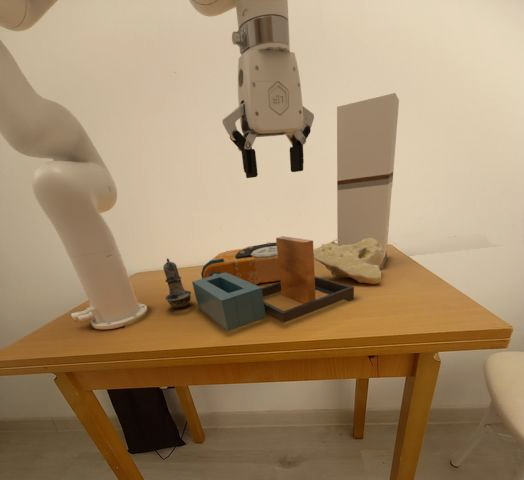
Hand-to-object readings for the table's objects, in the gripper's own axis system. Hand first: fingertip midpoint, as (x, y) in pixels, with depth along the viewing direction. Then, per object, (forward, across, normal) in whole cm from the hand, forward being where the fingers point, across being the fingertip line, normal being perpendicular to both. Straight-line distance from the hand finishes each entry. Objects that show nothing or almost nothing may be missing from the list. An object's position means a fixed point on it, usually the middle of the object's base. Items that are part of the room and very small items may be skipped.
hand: (275, 174), depth 54 cm
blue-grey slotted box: (+25, -13, +2) cm, 28 cm away
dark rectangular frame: (+24, +1, -3) cm, 24 cm away
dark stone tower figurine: (+25, -20, +14) cm, 35 cm away
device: (+25, +6, +21) cm, 33 cm away
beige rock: (+24, +17, -1) cm, 30 cm away
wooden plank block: (+24, +1, -3) cm, 24 cm away
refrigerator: (+24, +30, +7) cm, 39 cm away
